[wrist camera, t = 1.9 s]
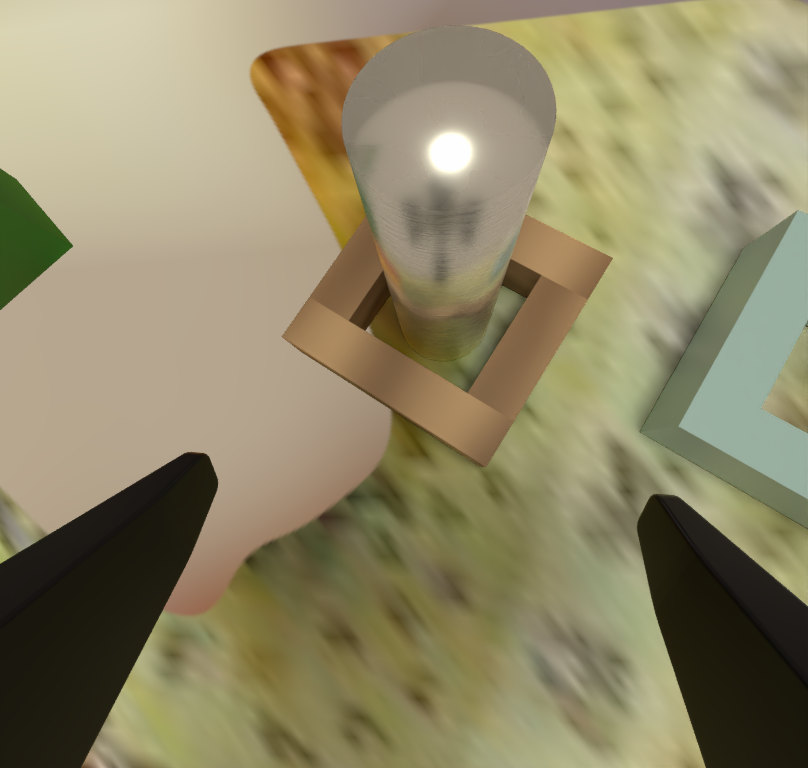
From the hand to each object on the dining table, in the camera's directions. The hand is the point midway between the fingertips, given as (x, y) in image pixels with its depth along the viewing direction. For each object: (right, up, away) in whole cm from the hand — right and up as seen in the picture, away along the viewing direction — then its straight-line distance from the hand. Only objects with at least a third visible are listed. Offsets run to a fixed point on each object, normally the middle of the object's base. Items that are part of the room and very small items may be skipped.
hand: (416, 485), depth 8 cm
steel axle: (+2, +6, +15) cm, 16 cm away
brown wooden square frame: (+2, +6, +15) cm, 16 cm away
